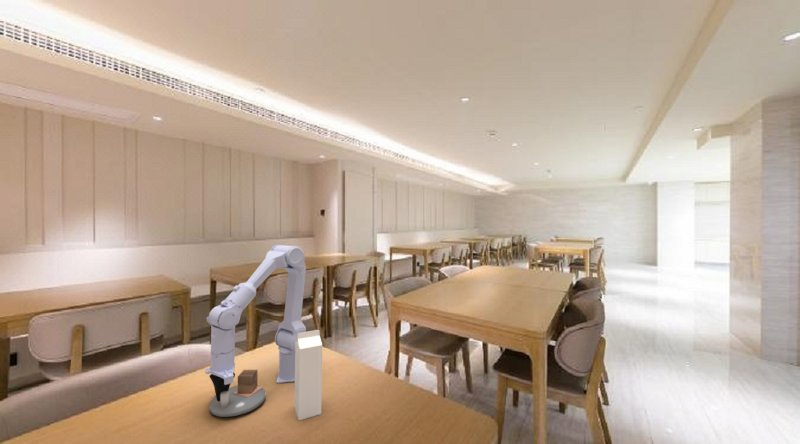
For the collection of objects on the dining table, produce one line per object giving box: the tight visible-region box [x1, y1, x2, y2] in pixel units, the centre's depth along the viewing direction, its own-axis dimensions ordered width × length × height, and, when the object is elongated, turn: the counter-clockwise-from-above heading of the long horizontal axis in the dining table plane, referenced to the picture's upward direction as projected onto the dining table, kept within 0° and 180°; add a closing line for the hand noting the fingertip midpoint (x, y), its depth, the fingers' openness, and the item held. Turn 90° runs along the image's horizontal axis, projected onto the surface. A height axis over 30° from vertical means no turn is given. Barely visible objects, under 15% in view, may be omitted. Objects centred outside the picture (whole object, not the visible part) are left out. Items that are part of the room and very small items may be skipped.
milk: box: [293, 329, 323, 421], centre depth 85 cm, size 6×6×22 cm
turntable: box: [208, 384, 266, 418], centre depth 88 cm, size 14×14×5 cm
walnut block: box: [237, 369, 258, 394], centre depth 91 cm, size 4×4×5 cm
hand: (221, 399), depth 85 cm, fingers closed
